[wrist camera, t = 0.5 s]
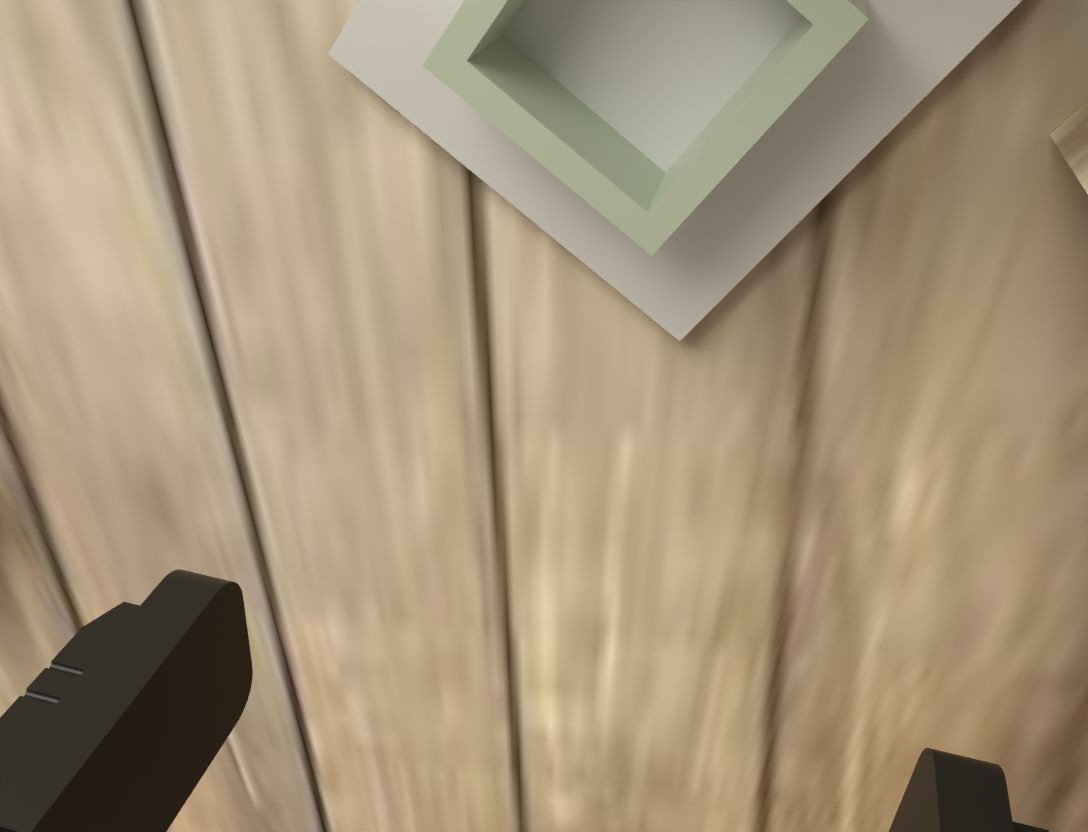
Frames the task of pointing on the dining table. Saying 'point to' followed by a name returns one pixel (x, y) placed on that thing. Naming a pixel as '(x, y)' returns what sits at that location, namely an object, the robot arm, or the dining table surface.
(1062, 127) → the beige long rectangular block
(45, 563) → the dining table surface
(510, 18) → the stand
